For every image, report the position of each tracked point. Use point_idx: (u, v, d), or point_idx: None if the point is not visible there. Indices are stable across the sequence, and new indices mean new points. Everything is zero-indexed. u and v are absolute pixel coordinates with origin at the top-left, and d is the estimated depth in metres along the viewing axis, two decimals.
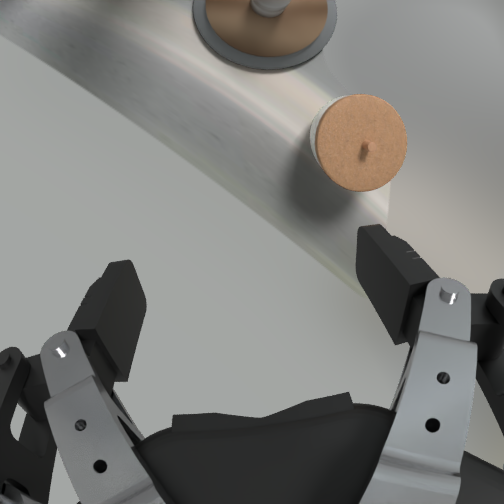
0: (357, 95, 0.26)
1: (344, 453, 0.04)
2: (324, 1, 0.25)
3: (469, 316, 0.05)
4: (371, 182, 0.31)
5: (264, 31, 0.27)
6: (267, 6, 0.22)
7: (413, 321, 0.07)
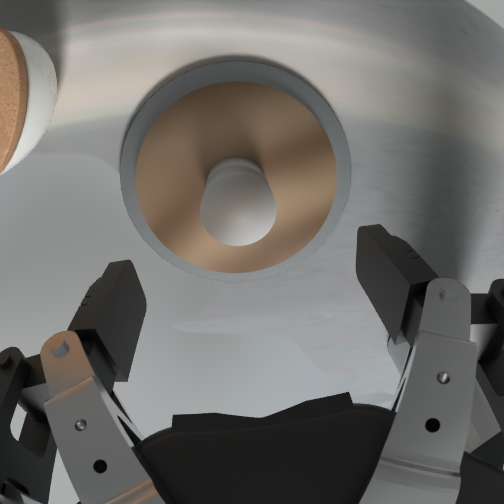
0: (6, 152, 0.12)
1: (344, 453, 0.04)
2: (170, 246, 0.22)
3: (469, 316, 0.05)
4: None
5: (208, 134, 0.18)
6: (228, 174, 0.15)
7: (413, 321, 0.07)
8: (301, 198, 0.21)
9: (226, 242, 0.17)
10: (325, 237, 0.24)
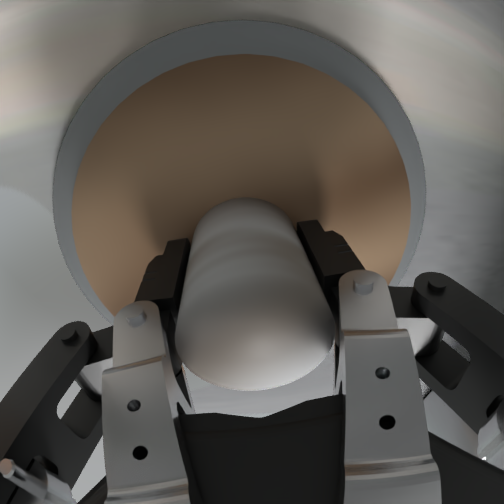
0: None
1: None
2: None
3: (378, 308, 0.06)
4: None
5: (193, 157, 0.10)
6: (234, 272, 0.07)
7: (333, 312, 0.08)
8: None
9: (231, 387, 0.08)
10: None
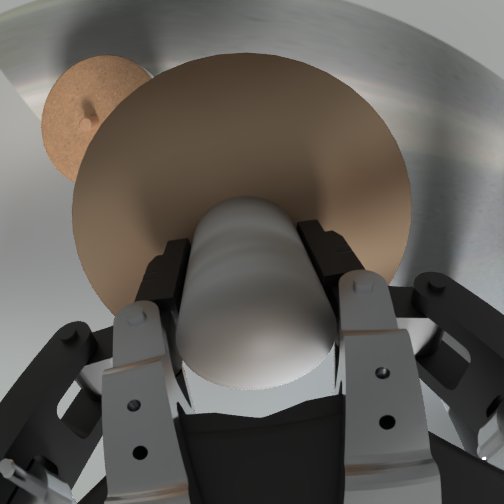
0: None
1: None
2: None
3: (378, 308, 0.06)
4: (57, 95, 0.18)
5: (194, 156, 0.10)
6: (235, 270, 0.07)
7: None
8: None
9: (232, 386, 0.08)
10: None
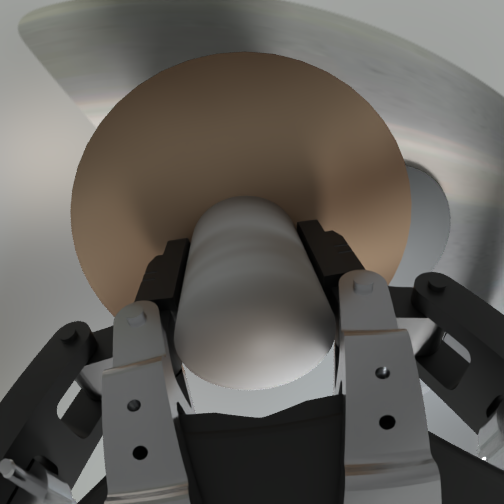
0: None
1: None
2: None
3: (378, 308, 0.06)
4: None
5: (193, 155, 0.10)
6: (233, 270, 0.07)
7: (333, 312, 0.08)
8: None
9: (230, 386, 0.08)
10: None
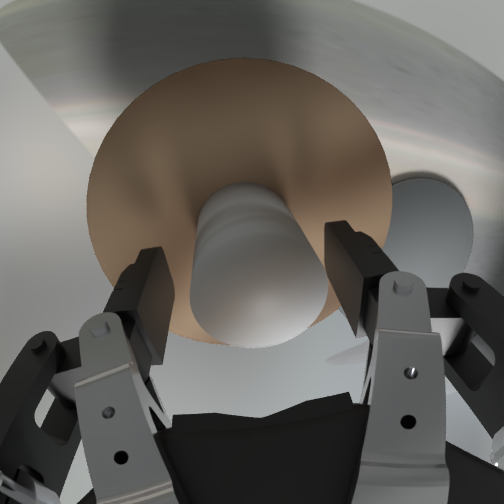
0: None
1: (344, 453, 0.04)
2: None
3: (420, 309, 0.06)
4: None
5: (200, 146, 0.11)
6: (241, 232, 0.08)
7: (370, 314, 0.08)
8: None
9: (237, 344, 0.09)
10: None
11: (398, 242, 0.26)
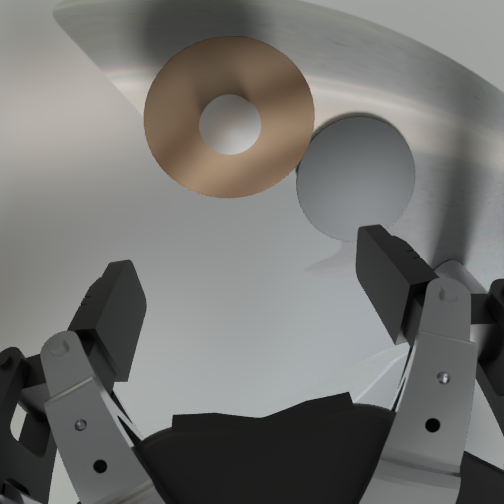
0: None
1: (344, 453, 0.04)
2: (171, 173, 0.25)
3: (469, 316, 0.05)
4: None
5: (206, 77, 0.21)
6: (222, 96, 0.18)
7: (413, 321, 0.07)
8: (284, 130, 0.24)
9: (220, 151, 0.19)
10: (399, 215, 0.40)
11: (347, 163, 0.35)
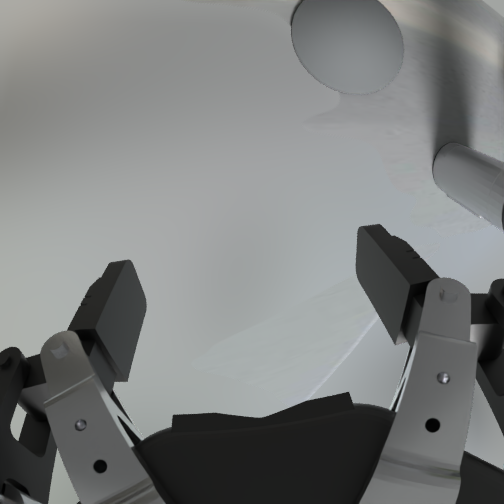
0: None
1: (344, 453, 0.04)
2: None
3: (469, 316, 0.05)
4: None
5: None
6: None
7: (413, 321, 0.07)
8: None
9: None
10: (394, 76, 0.35)
11: (337, 20, 0.31)
